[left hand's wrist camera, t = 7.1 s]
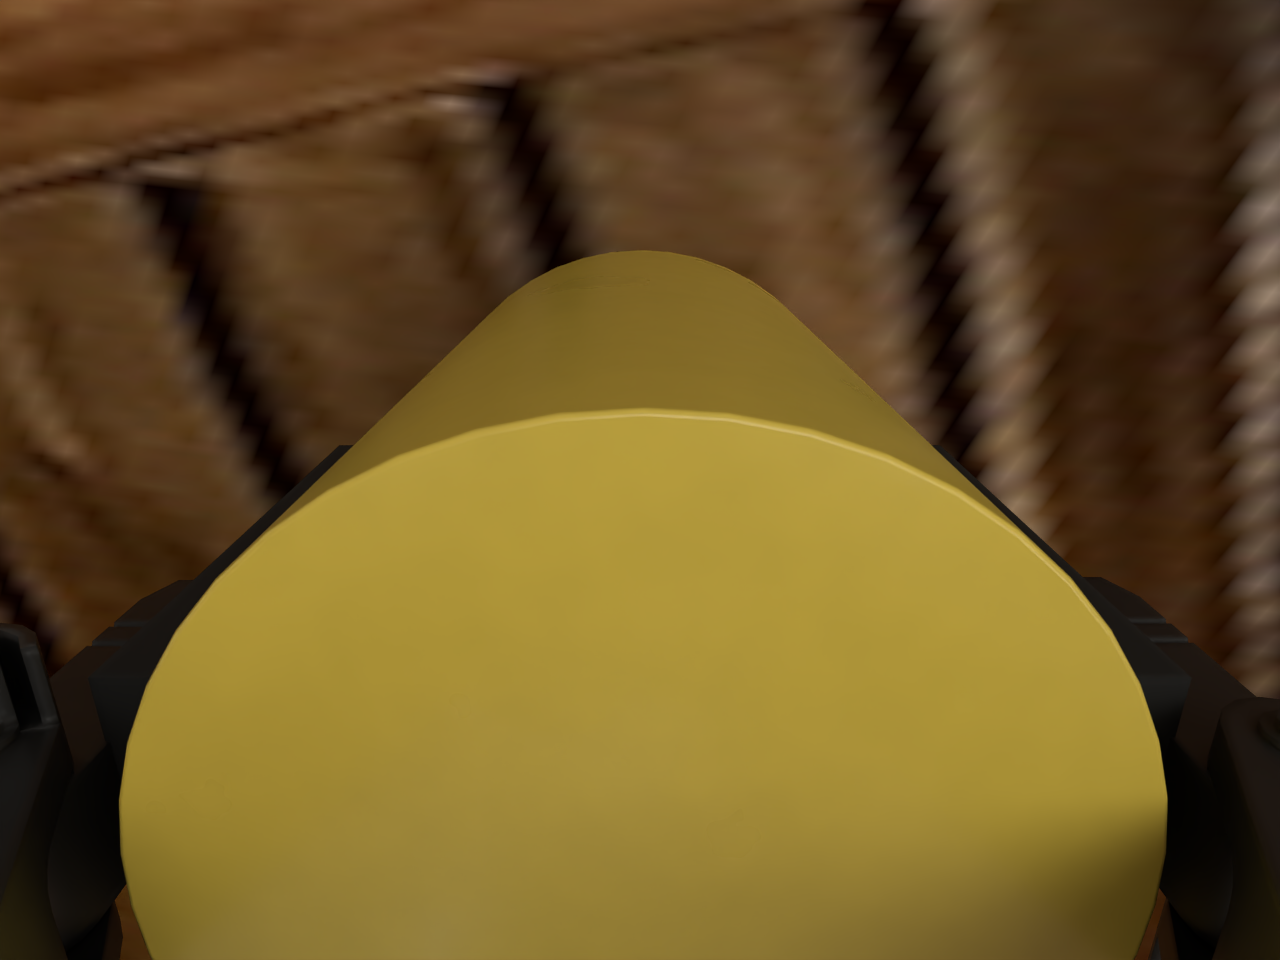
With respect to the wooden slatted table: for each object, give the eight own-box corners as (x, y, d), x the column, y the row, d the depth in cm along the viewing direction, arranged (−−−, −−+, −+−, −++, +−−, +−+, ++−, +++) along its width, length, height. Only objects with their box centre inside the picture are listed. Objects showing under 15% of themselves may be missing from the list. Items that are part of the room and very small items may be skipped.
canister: (556, 162, 15) (374, 149, 5) (927, 387, 16) (1407, 751, 6) (371, 528, 17) (-9, 1038, 7) (708, 694, 19) (788, 1314, 9)
